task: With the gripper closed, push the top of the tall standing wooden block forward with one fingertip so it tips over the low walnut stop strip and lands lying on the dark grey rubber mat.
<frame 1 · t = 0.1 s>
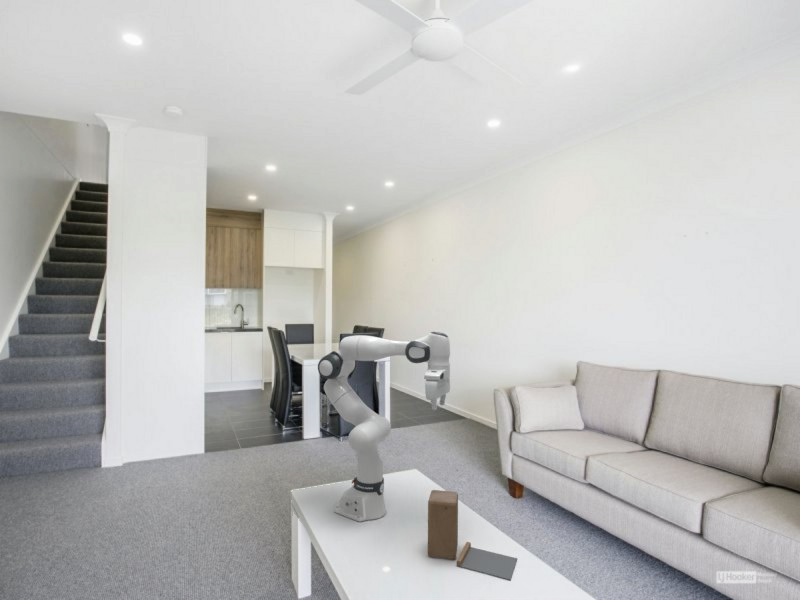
hand: (438, 407, 172), 48 cm above the table, fingers open, 8 cm apart
wooden block: (442, 552, 154), on the table
mat: (487, 562, 147), on the table
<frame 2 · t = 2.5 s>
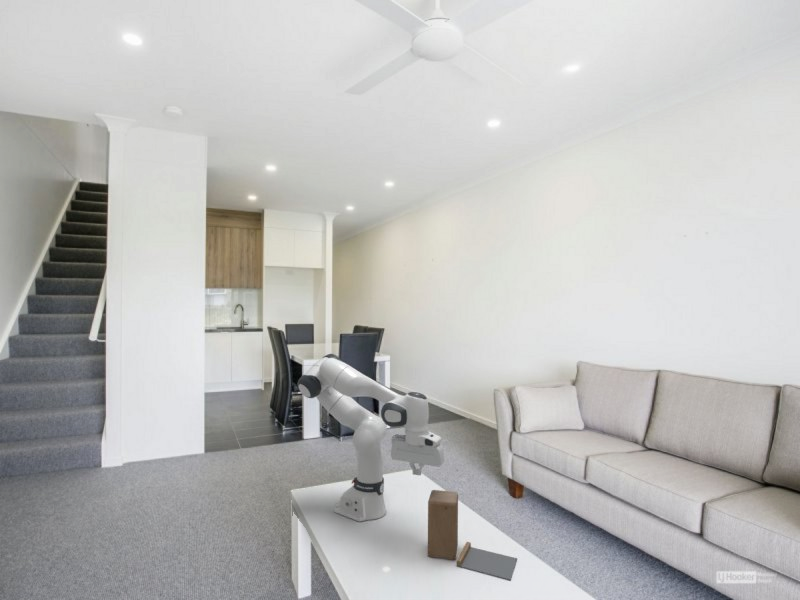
hand: (416, 474, 159), 26 cm above the table, fingers closed
nothing on the table moved.
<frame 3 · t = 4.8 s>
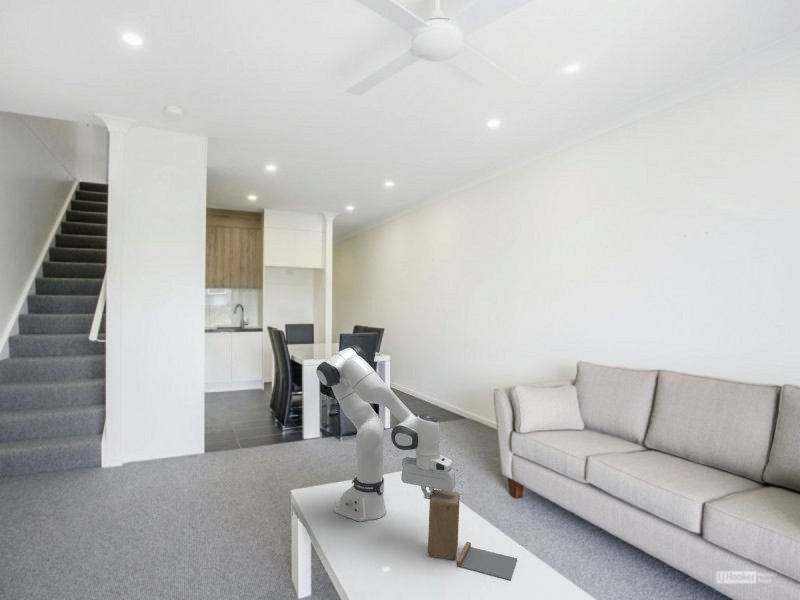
hand: (427, 498, 157), 18 cm above the table, fingers closed
wooden block: (442, 551, 154), on the table, touching gripper
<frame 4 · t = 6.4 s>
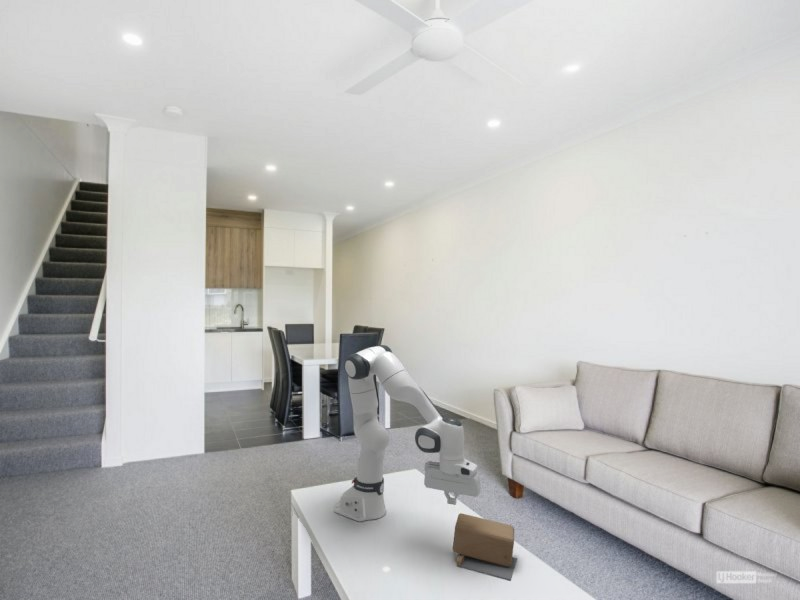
hand: (451, 503, 153), 18 cm above the table, fingers closed
wooden block: (454, 531, 153), point 7 cm above the table, touching mat
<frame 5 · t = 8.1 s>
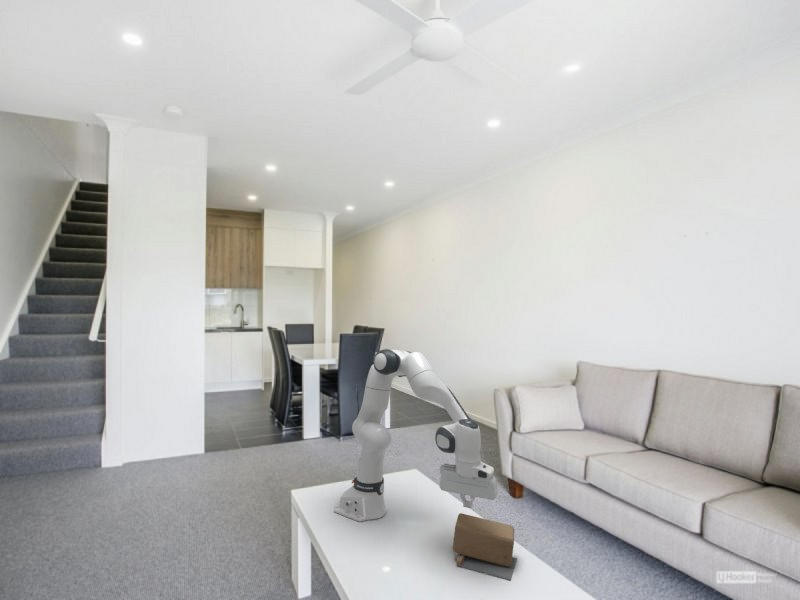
hand: (467, 506, 151), 18 cm above the table, fingers closed
nothing on the table moved.
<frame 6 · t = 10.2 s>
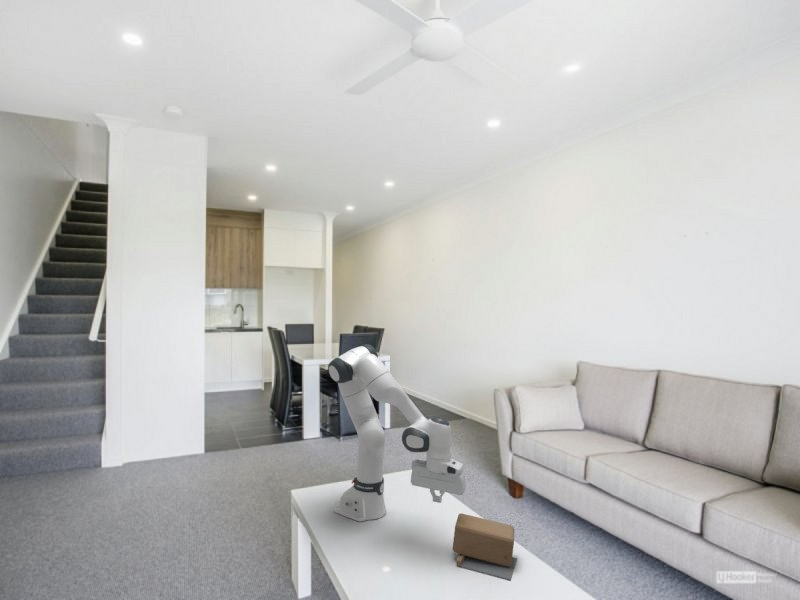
hand: (437, 501, 156), 17 cm above the table, fingers closed
nothing on the table moved.
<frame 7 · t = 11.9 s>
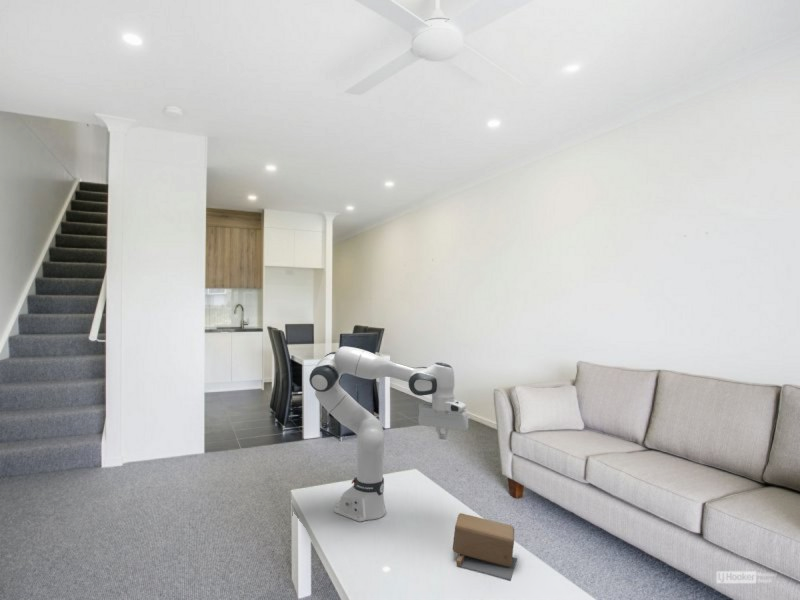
hand: (442, 439, 170), 36 cm above the table, fingers closed
nothing on the table moved.
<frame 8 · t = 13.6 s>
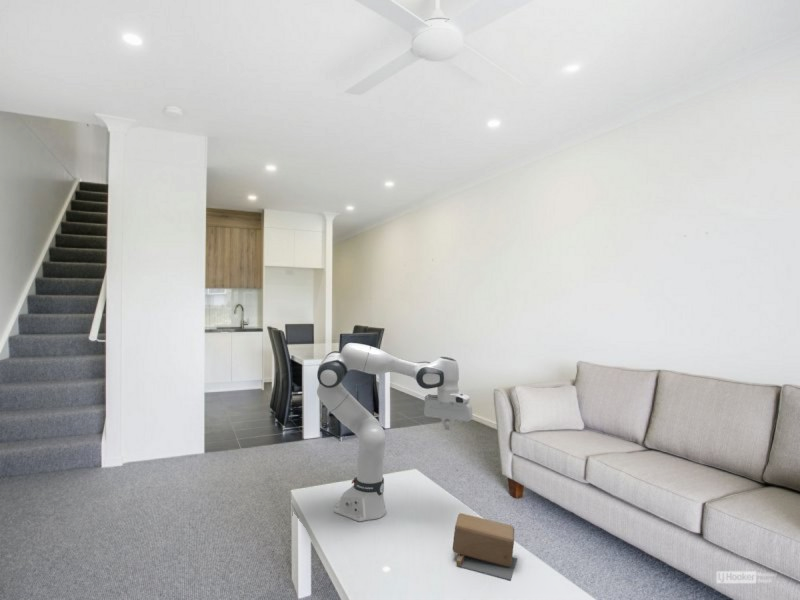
hand: (447, 429, 178), 37 cm above the table, fingers closed
nothing on the table moved.
at the end: wooden block tilted 96°; wooden block touching mat; wooden block 12.0 cm from the mat (horizontally) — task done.
